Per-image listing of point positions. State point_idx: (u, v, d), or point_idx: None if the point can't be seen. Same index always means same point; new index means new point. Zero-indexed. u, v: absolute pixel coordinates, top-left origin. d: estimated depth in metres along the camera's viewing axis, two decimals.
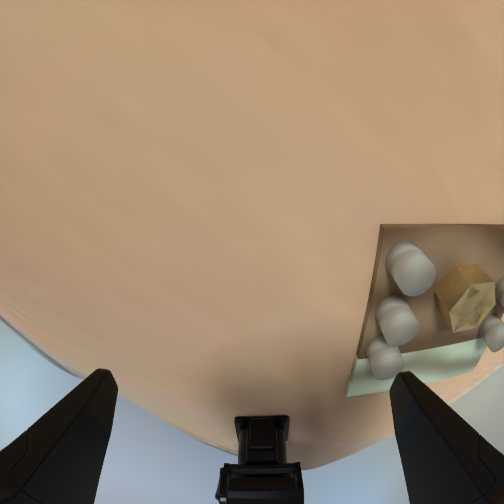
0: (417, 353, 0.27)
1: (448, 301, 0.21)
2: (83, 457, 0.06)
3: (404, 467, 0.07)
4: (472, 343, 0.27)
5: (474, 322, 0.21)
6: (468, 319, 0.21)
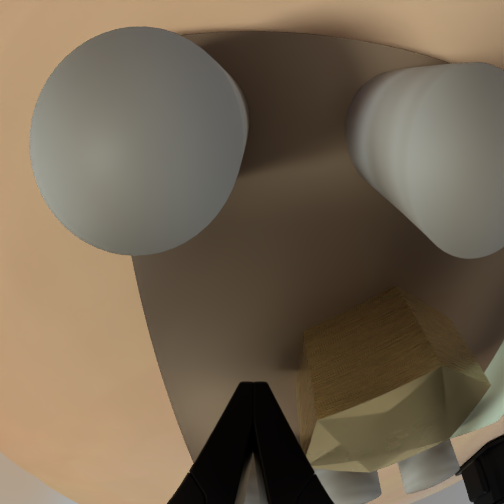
0: (488, 372, 0.10)
1: None
2: (246, 483, 0.06)
3: (257, 485, 0.07)
4: None
5: (463, 405, 0.06)
6: (434, 427, 0.06)
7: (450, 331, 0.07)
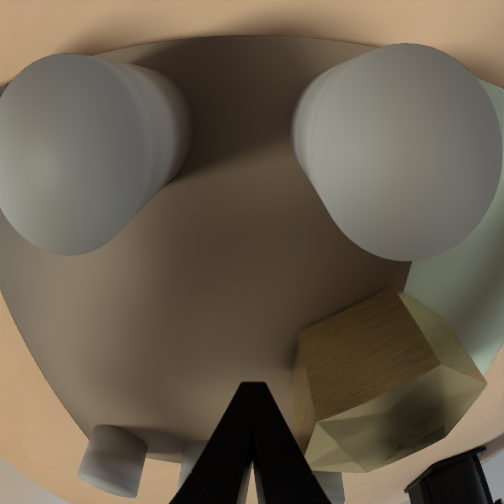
0: None
1: None
2: (247, 483, 0.06)
3: (256, 485, 0.07)
4: None
5: (460, 403, 0.06)
6: (431, 426, 0.07)
7: (445, 330, 0.07)
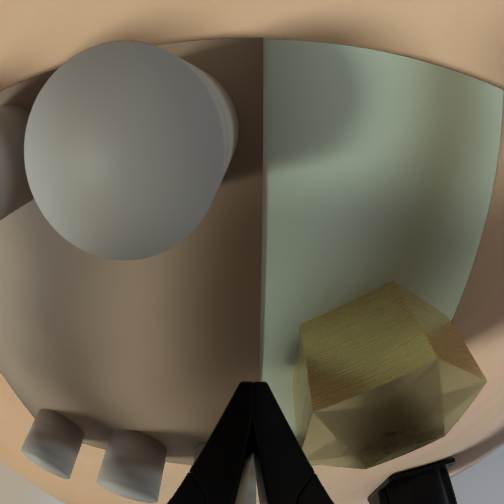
0: None
1: None
2: (246, 483, 0.06)
3: (257, 485, 0.07)
4: (292, 185, 0.07)
5: (459, 400, 0.06)
6: (430, 423, 0.07)
7: (446, 327, 0.07)
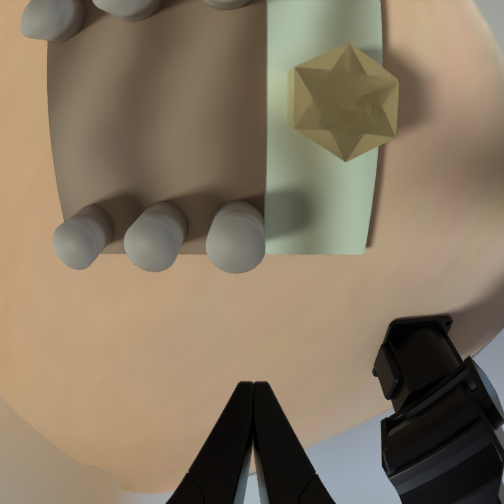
0: (274, 142, 0.16)
1: None
2: (245, 483, 0.06)
3: (258, 485, 0.07)
4: (278, 7, 0.12)
5: (384, 89, 0.12)
6: (373, 107, 0.12)
7: None
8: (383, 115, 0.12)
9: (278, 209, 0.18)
